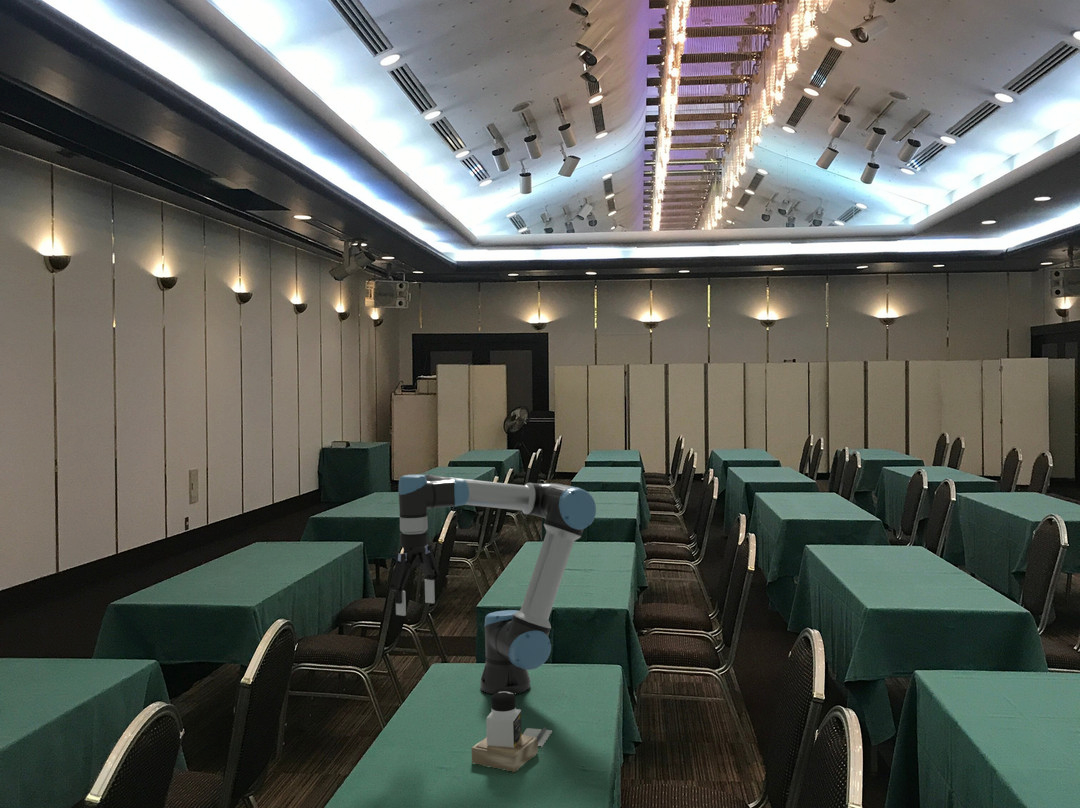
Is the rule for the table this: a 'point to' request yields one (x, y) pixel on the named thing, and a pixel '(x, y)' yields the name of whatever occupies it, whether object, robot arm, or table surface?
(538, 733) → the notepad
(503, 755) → the beech tray
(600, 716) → the table surface
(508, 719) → the medicine bottle
